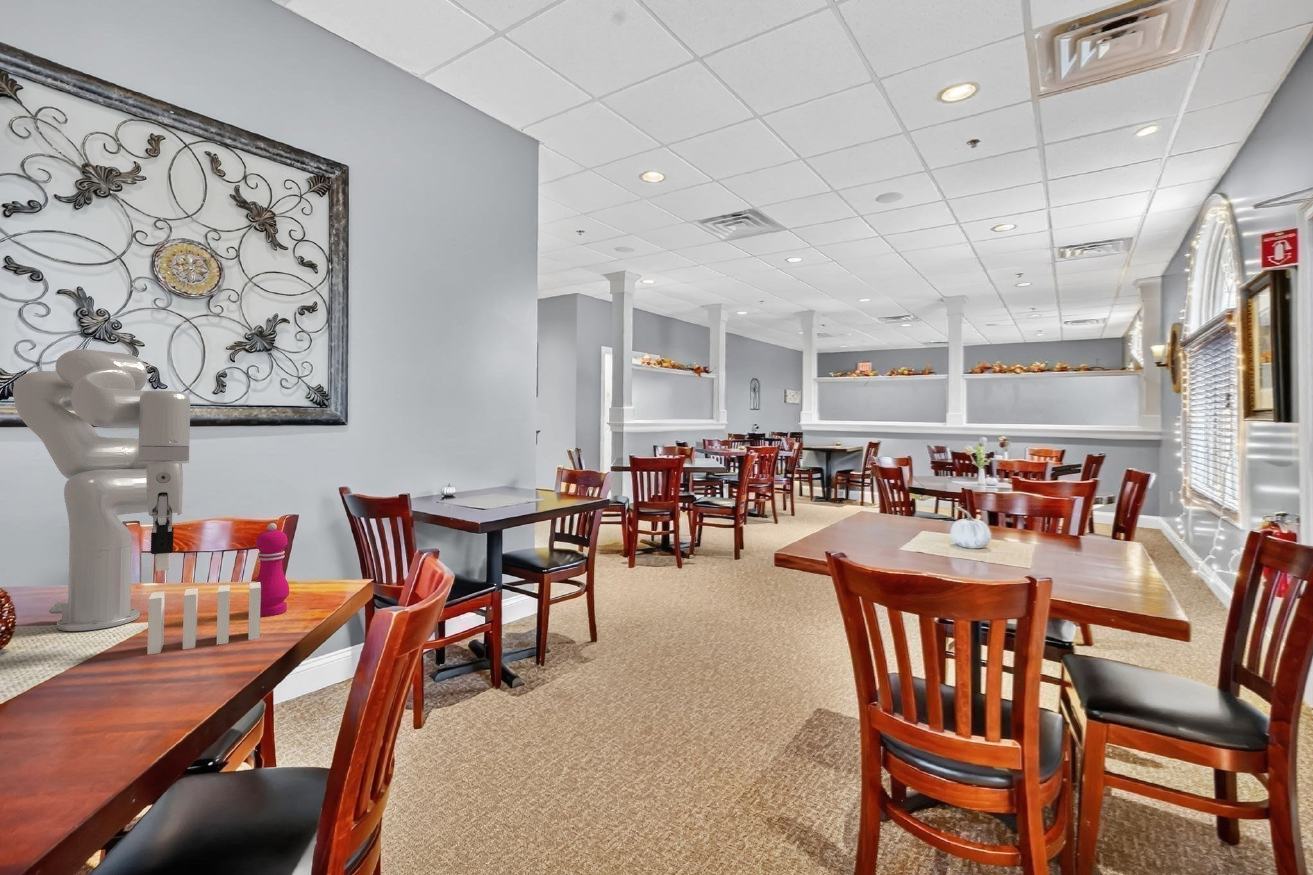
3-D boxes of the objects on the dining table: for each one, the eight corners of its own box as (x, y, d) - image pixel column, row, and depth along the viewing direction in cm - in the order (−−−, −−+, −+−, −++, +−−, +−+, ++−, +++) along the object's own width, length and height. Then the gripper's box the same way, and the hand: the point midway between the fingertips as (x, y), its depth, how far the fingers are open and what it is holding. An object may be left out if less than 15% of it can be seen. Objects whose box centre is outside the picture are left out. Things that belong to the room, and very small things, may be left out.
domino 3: (216, 644, 113) (217, 592, 113) (217, 636, 117) (218, 586, 117) (228, 643, 114) (229, 590, 114) (228, 635, 118) (230, 584, 118)
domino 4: (248, 640, 116) (249, 588, 116) (248, 632, 120) (249, 582, 120) (259, 638, 117) (260, 587, 117) (258, 631, 121) (260, 581, 121)
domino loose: (156, 571, 112) (157, 517, 112) (156, 566, 116) (158, 514, 116) (168, 569, 113) (169, 516, 113) (168, 565, 117) (170, 513, 117)
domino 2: (182, 649, 110) (184, 595, 110) (184, 641, 114) (186, 589, 114) (194, 647, 111) (196, 594, 111) (196, 639, 116) (198, 588, 116)
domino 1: (147, 654, 107) (148, 599, 107) (151, 646, 112) (152, 592, 112) (160, 652, 108) (161, 597, 108) (163, 644, 113) (164, 591, 113)
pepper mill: (296, 608, 137) (298, 521, 137) (273, 618, 130) (275, 526, 130) (267, 607, 138) (269, 520, 138) (242, 616, 130) (244, 524, 130)
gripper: (189, 457, 110) (187, 556, 110) (188, 454, 123) (186, 542, 123) (135, 457, 105) (133, 560, 105) (140, 454, 118) (138, 545, 118)
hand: (162, 549), depth 114 cm, fingers closed on domino loose, 5 cm apart
